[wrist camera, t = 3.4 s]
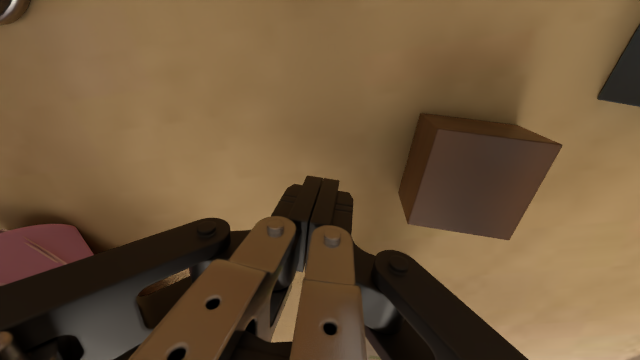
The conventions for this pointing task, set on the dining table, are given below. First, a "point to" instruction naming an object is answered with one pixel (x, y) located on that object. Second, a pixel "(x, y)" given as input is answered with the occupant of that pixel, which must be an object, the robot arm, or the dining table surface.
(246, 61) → the dining table surface
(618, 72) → the slate block
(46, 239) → the flower arrangement
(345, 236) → the robot arm
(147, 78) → the dining table surface
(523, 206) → the walnut block
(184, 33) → the dining table surface
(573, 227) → the dining table surface
